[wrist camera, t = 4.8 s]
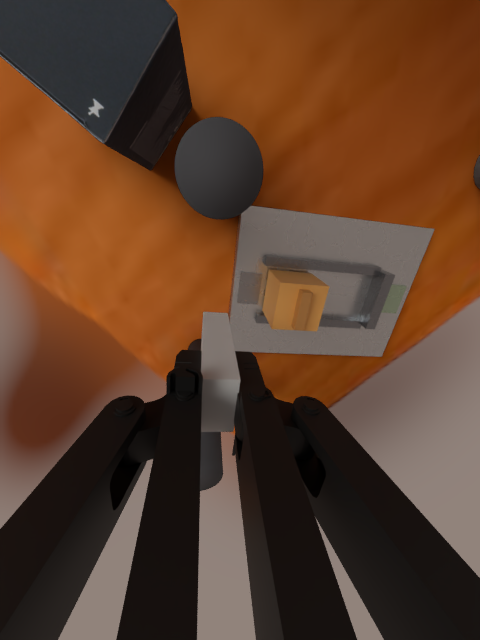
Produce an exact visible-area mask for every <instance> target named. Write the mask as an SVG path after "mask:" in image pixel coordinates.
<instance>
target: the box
mask: <svg viewBox="0 0 480 640" xmlns="http://www.w3.org/2000/svg"><path fill="white" fill-rule="evenodd" d="M0 57H2V58H3V59H4V60H5V61H6V62H8V63H9V64H10V65H11V66H12V67H14V68H15V69H16V70H17V71H18V72H19V73H20V74H22V75H23V76H24V77H25V78H27V79H28V80H29V81H30V82H31V83H32V84H34V85H35V86H36V87H37V88H38V89H40V90H41V91H42V92H43V93H44V94H46V95H47V96H48V97H49V98H50V99H51V100H53V101H54V102H55V103H56V104H57V105H58V106H60V107H61V108H62V109H63V110H64V111H66V112H67V113H68V114H69V115H70V116H71V117H72V118H74V119H75V120H76V121H77V122H78V123H79V124H81V125H82V126H83V127H84V128H85V129H86V130H87V131H89V132H90V133H91V134H92V135H93V136H94V137H95V138H96V139H98V140H99V141H100V142H102V143H103V144H105V145H107V146H108V147H110V148H111V149H113V150H115V151H117V152H119V153H120V154H122V155H124V156H125V157H127V158H129V159H131V160H133V161H134V162H136V163H138V164H140V165H142V166H143V167H145V168H147V169H148V170H152V169H153V167H154V166H155V164H156V163H157V161H158V159H159V158H160V157H161V155H162V153H163V152H164V150H165V149H166V147H167V146H168V144H169V142H170V141H171V139H172V138H173V136H174V135H175V133H176V132H177V130H178V129H179V127H180V125H181V124H182V122H183V121H184V119H185V118H186V116H187V115H188V113H189V112H190V110H191V108H192V103H191V97H190V90H189V85H188V79H187V73H186V66H185V60H184V54H183V47H182V43H181V37H180V30H179V26H178V17H177V14H176V12H175V11H174V9H173V8H172V7H171V6H170V5H169V4H168V3H167V1H166V0H0Z"/></svg>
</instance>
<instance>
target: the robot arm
mask: <svg viewBox="0 0 480 640" xmlns="http://www.w3.org/2000/svg"><path fill="white" fill-rule="evenodd" d="M234 425H235V440H234V446H233V453H232V455H236V463H237V473H238V481H239V490H240V499H241V509H242V518H243V526H244V536H245V545H246V554H247V562H248V572H249V581H250V589H251V598H252V607H253V616H254V625H255V634H256V640H357V638H356V635H355V632H354V629H353V626H352V623H351V621H350V617H349V614H348V612H347V609H346V606H345V603H344V600H343V597H342V594H341V591H340V588H339V585H338V582H337V579H336V577H335V574H334V571H333V568H332V565H331V562H330V559H329V556H328V553H327V551H326V547H325V545H324V542H323V539H322V536H321V533H320V530H319V527H318V524H317V521H316V519H317V520H318V522H319V524H320V526H321V527H322V529H323V531H324V533H325V535H326V536H327V538H328V540H329V542H330V543H331V545H332V547H333V549H334V550H335V553H336V554H337V556H338V558H339V559H340V561H341V563H342V565H343V567H344V568H345V570H346V572H347V574H348V576H349V578H350V579H351V581H352V583H353V585H354V587H355V588H356V590H357V592H358V594H359V595H360V597H361V599H362V601H363V603H364V604H365V606H366V608H367V610H368V612H369V613H370V615H371V617H372V619H373V620H374V622H375V624H376V626H377V627H378V629H379V631H380V633H381V635H382V637H383V638H384V640H480V578H479V577H478V576H477V575H476V573H475V572H474V571H473V570H472V569H471V568H470V567H469V566H468V564H467V563H466V562H465V561H464V560H463V559H462V558H461V557H460V556H459V554H458V553H457V552H456V551H455V550H454V549H453V548H452V547H451V546H450V544H449V543H448V542H447V541H446V540H445V539H444V538H443V537H442V536H441V534H440V533H439V532H438V531H437V530H436V529H435V528H434V527H433V526H432V524H431V523H430V522H429V521H428V520H427V519H426V518H425V517H424V515H423V514H422V513H421V512H420V511H419V510H418V509H417V508H416V507H415V505H414V504H413V503H412V502H411V501H410V500H409V499H408V498H407V496H405V494H404V493H403V492H402V491H401V490H400V489H399V488H398V486H397V485H396V484H395V483H394V482H393V481H392V480H391V479H390V478H389V476H388V475H387V474H386V473H385V472H384V471H383V470H382V469H381V468H380V467H379V465H378V464H377V463H376V462H375V461H374V460H373V459H372V458H371V456H370V455H369V454H368V453H367V452H366V451H365V450H364V449H363V447H362V446H361V445H360V444H359V443H358V442H357V441H356V440H355V439H354V438H353V436H352V435H351V434H350V433H349V432H348V431H347V430H346V429H345V428H344V426H343V425H342V424H341V423H340V422H339V421H338V420H337V418H335V416H334V415H333V414H332V413H331V412H330V411H329V410H328V408H327V407H326V406H325V405H324V404H323V403H321V402H320V401H319V400H317V399H315V398H312V397H308V396H301V397H298V398H296V399H295V401H294V403H293V404H292V403H288V402H284V401H281V400H278V399H276V398H274V396H273V394H272V392H271V391H270V390H269V389H267V388H266V387H265V384H264V381H263V378H262V375H261V372H260V370H259V366H258V363H257V359H256V357H255V356H254V355H253V354H252V353H251V352H245V351H235V349H234V343H233V338H232V333H231V328H230V322H229V317H228V313H216V312H203V326H202V342H201V351H198V350H181V351H180V352H179V353H178V354H177V356H176V361H175V366H174V369H173V370H172V371H170V372H169V373H168V375H167V394H166V395H165V396H164V397H162V398H160V399H158V400H155V401H152V402H147V403H144V401H143V400H142V399H140V398H138V397H135V396H123V397H119V398H117V399H114V400H112V401H111V402H110V403H109V404H108V405H106V406H105V407H104V409H103V410H102V411H101V412H100V413H99V415H98V416H97V417H96V418H95V419H94V420H93V422H92V423H91V424H90V425H89V426H88V427H87V429H86V430H85V431H84V432H83V433H82V434H81V436H80V437H79V438H78V439H77V440H76V441H75V443H74V444H73V445H72V446H71V447H70V448H69V450H68V451H67V452H66V453H65V454H64V455H63V457H62V458H61V459H60V460H59V461H58V462H57V464H56V465H55V466H54V467H53V468H52V470H51V471H50V472H49V473H48V474H47V475H46V476H45V478H44V479H43V480H42V481H41V482H40V484H39V485H38V486H37V487H36V488H35V489H34V491H33V492H32V493H31V494H30V495H29V496H28V497H27V499H26V500H25V501H24V502H23V503H22V505H21V506H20V507H19V508H18V509H17V510H16V512H15V513H14V514H13V515H12V516H11V517H10V519H9V520H8V521H7V522H6V523H5V524H4V526H3V527H2V528H1V529H0V640H58V638H59V636H60V634H61V632H62V630H63V628H64V626H65V624H66V622H67V620H68V618H69V616H70V614H71V612H72V610H73V608H74V606H75V604H76V602H77V600H78V598H79V596H80V594H81V592H82V590H83V588H84V586H85V584H86V582H87V580H88V578H89V576H90V574H91V572H92V570H93V568H94V566H95V564H96V562H97V560H98V558H99V556H100V554H101V552H102V550H103V548H104V546H105V544H106V542H107V540H108V538H109V536H110V534H111V533H112V531H113V528H114V527H115V525H116V523H117V520H118V519H119V517H120V514H121V513H122V511H123V509H124V507H125V505H126V503H127V501H128V499H129V497H130V495H131V492H132V491H133V489H134V486H135V484H136V483H137V481H138V478H139V476H140V475H141V473H142V471H143V469H144V466H145V464H146V461H147V460H150V459H153V464H152V468H151V473H150V479H149V483H148V488H147V493H146V498H145V503H144V508H143V512H142V517H141V522H140V527H139V532H138V537H137V542H136V547H135V551H134V556H133V561H132V566H131V571H130V576H129V581H128V586H127V591H126V595H125V601H124V605H123V610H122V615H121V620H120V625H119V630H118V635H117V639H116V640H197V603H198V556H199V554H198V553H199V507H200V461H201V432H233V430H234ZM315 517H316V518H315Z"/></svg>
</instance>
